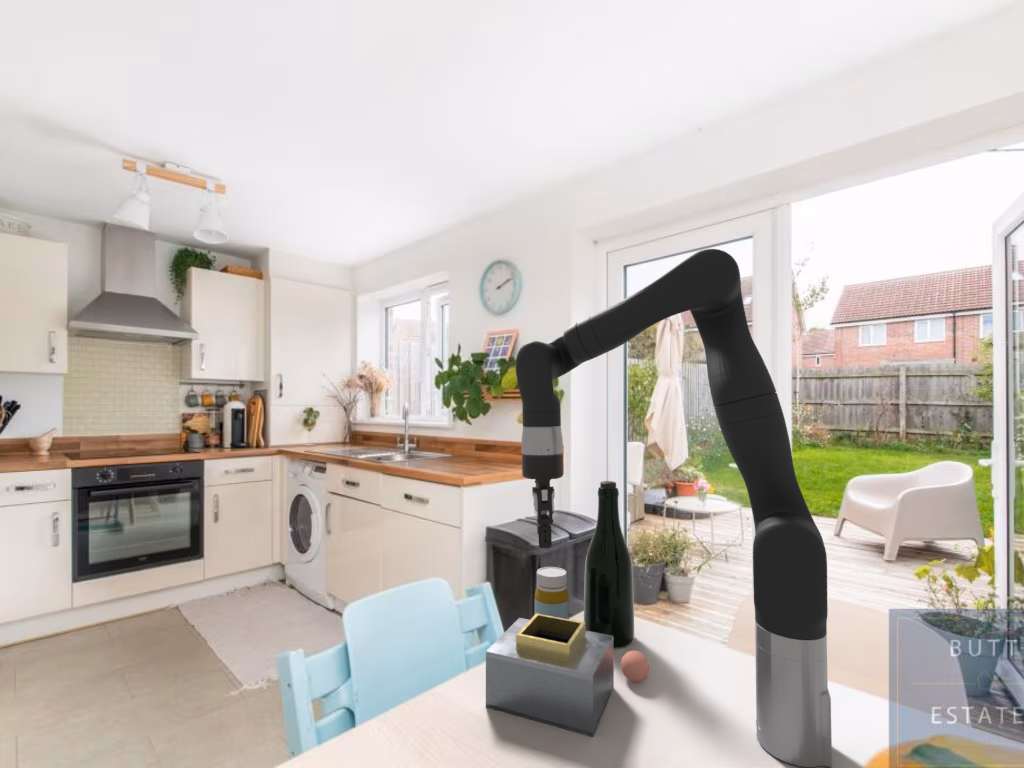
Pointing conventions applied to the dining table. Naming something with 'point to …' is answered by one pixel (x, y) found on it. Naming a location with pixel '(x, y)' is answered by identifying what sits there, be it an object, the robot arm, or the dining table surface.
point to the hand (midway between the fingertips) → (544, 540)
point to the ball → (635, 666)
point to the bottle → (552, 592)
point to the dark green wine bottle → (609, 574)
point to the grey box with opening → (551, 673)
